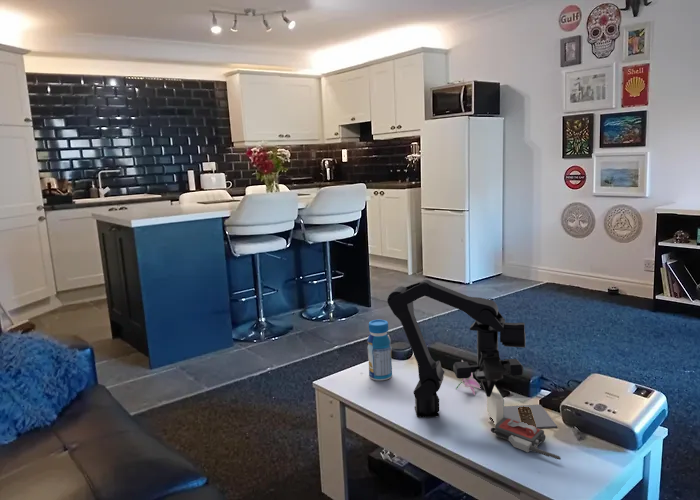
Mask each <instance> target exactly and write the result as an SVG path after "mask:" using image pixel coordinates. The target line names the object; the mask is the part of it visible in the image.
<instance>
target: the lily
mask: <svg viewBox="0 0 700 500" xmlns="http://www.w3.org/2000/svg"><path fill="white" fill-rule="evenodd" d="M461 362H464V360H463V359H461ZM462 383H463V384H464V387H465V388H469V389H470V391H471V392H472V393H473V395H474V397H475V396H476V390H475V388H477V389H480V390H481V389H482V387H481V385H480V383H479V382H478V381H477V380H476V379H475V378H474V373H473V372H471V376H470V377H469V378H462V381H460V383H458V385H457V387H455V390H458V389H459V387H460V385H461V384H462ZM480 387H481V388H480Z"/></svg>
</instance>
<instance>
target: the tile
mask: <svg viewBox="0 0 700 500" xmlns="http://www.w3.org/2000/svg"><path fill="white" fill-rule="evenodd" d="M504 406H505V399H504V397H503V395H502V394H501V393H500V391H499V389H498V388H497V386H496V384H495V385H494V388H493V390H492V393H491V395H490V397H487V396H486V412H487V413H488V416H489V417H491V418H492V419H493V421H494V423H493V424H495V425H496V424H497V423H498V422H499V421H500V420H502V419H503V418H504ZM491 418H490V419H491ZM492 419H491V420H492ZM493 421H492V422H493ZM495 425H494V426H495Z"/></svg>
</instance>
